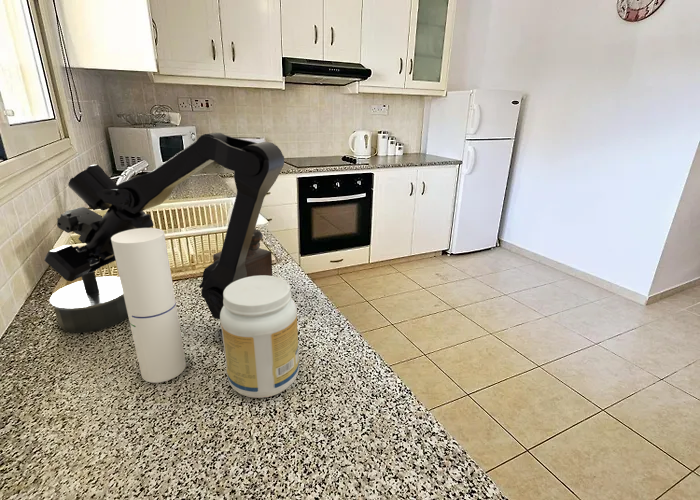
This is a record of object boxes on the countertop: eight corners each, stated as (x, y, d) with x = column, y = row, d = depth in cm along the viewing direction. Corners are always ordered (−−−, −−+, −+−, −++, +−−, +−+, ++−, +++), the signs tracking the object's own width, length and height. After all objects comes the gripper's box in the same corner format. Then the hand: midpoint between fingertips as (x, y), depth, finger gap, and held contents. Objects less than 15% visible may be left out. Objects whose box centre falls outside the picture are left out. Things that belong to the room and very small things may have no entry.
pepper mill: (213, 289, 94) (204, 221, 87) (245, 274, 103) (240, 211, 96) (258, 307, 87) (252, 233, 80) (289, 288, 95) (286, 221, 89)
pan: (147, 303, 87) (143, 283, 85) (99, 336, 74) (93, 313, 72) (97, 297, 89) (92, 276, 87) (43, 327, 77) (35, 304, 75)
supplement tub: (291, 348, 72) (287, 268, 66) (307, 390, 62) (305, 300, 55) (225, 361, 68) (215, 278, 62) (230, 409, 57) (219, 314, 51)
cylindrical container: (169, 385, 62) (142, 245, 53) (131, 379, 63) (99, 240, 54) (194, 359, 68) (174, 230, 59) (159, 353, 70) (134, 226, 61)
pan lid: (147, 284, 85) (140, 249, 82) (94, 317, 72) (83, 276, 69) (92, 277, 88) (84, 243, 85) (32, 308, 75) (19, 269, 71)
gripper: (121, 186, 80) (89, 231, 86) (37, 208, 63) (5, 262, 69) (160, 224, 81) (126, 266, 87) (88, 255, 64) (52, 304, 70)
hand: (82, 272), depth 78 cm, fingers closed on pan lid, 2 cm apart
